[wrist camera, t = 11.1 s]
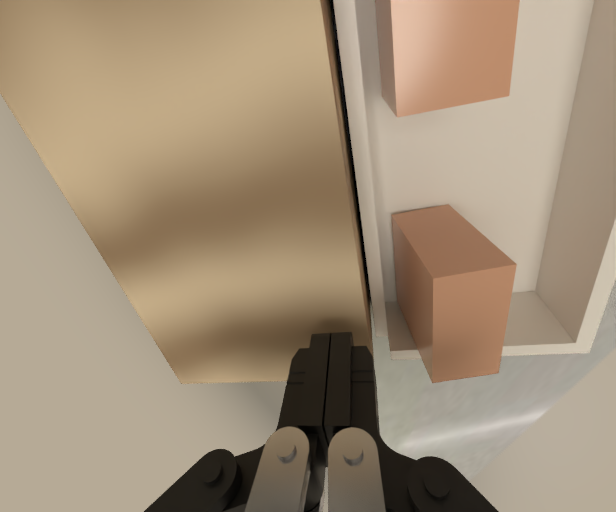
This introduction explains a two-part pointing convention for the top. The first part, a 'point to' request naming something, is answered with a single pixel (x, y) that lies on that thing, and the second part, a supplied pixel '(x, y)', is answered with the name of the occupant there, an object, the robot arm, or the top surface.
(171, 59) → the platform
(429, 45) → the tile inner
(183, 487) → the robot arm
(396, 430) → the top surface
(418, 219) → the tile outer
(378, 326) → the bin
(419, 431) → the top surface
